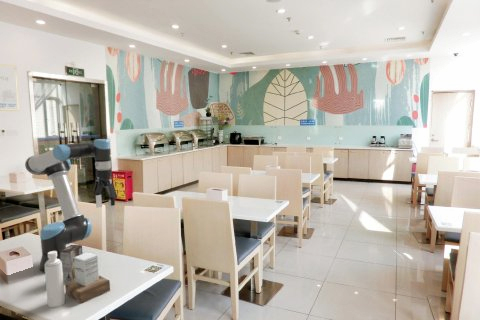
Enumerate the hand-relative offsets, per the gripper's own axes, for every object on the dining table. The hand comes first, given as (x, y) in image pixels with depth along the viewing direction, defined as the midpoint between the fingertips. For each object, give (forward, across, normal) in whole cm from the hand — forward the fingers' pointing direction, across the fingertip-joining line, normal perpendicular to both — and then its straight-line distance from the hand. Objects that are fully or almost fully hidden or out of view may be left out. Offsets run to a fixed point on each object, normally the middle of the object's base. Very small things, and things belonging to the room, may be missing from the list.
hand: (105, 209), depth 180 cm
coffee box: (+34, -5, -17) cm, 38 cm away
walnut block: (+33, +15, -19) cm, 41 cm away
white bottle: (+33, +14, -32) cm, 48 cm away
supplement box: (+28, +15, -19) cm, 37 cm away
